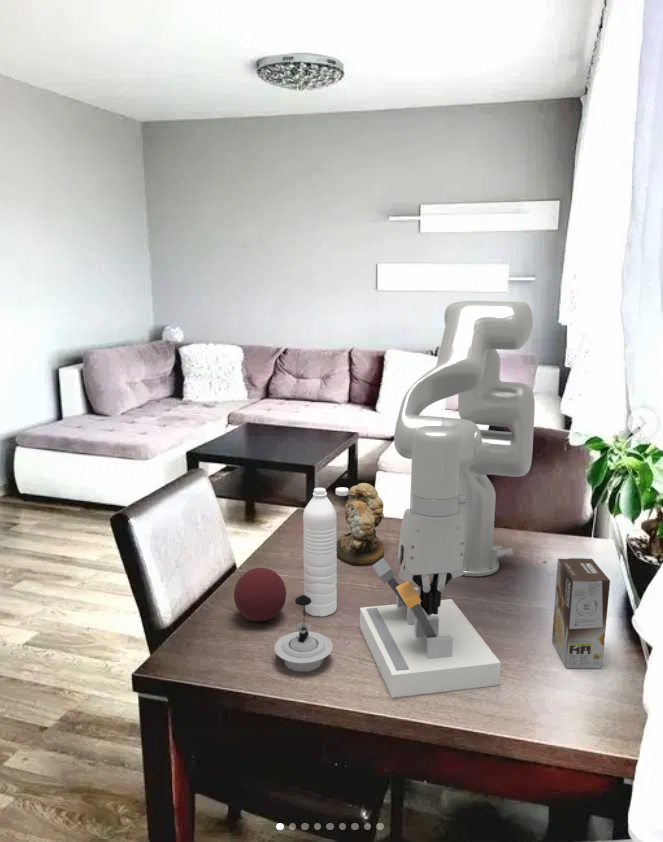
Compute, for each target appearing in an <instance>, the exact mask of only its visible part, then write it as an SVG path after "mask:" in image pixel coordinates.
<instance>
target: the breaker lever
mask: <svg viewBox="0 0 663 842" xmlns="http://www.w3.org/2000/svg"><path fill="white" fill-rule="evenodd" d="M414 588H415V587H413V585H412V583H411V582H410V581H404V582H402V583H401V584H400V585H399V586H397V587H396V589H397V590H398V592H399V594H400V596H401V597H402V599H403V601H404V602H405V604H406V605H407V607H408V609H410V608H411V610H412V612H413V614H414V616H415V618H416V620H417V621H418V623H419V625H420V627H421V629H422V631H423V633H424V634H425V636H426V637H427V638H431V637H437V636H436V634H435V632H434V631H433V629H432V627H431V625H430V623H429V621H428V619H427V617H426V615H425V614H424V612H423V610H422V608H421V606H420V604H419V603H420V602H422V601H421V599H420V595H419V596H418V594H417V592H416V591H415V589H414Z"/></svg>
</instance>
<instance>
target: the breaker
mask: <svg viewBox="0 0 663 842" xmlns="http://www.w3.org/2000/svg"><path fill="white" fill-rule="evenodd" d="M372 567H373V569H374V570H375V572H376V573H377V575H378V577H379V579H380V580H381V581H382V582H383V584H384V585H385V584H386V583H387V584H388V585H389V587H390V588H391V589H392V591H393V592H394V594H396V597H397V596H398V597H399V599H400V600H401V601H402V603H403V604H404V605H405V606H406V608H407V605H406V604H405V602H404V601H403V599H402V597H401V596H400V594H399V592H398V590H397V589H396V587H397V586H399V585H401V584H400V583H399V581H398V580H397V578H396V574H395V573H394V571H393V569H392V568H391V566H390V564H388V562H387V561H386V559H385V558H384V557H383V558H382V559H381V560H379V561H378V562H376V563H375V564H374V565H372Z"/></svg>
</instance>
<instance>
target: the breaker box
mask: <svg viewBox="0 0 663 842" xmlns="http://www.w3.org/2000/svg"><path fill="white" fill-rule="evenodd" d="M413 588H414V589H415V591H416V592H417V594H418V596H419V597H420V589H419V587H416V586H415V587H413ZM419 604H420V603H419ZM421 608H422V607H421ZM422 610H423V612H424V614H425V615H426V617H427V619H428V621H429V623H430V625H431V627H432V629H433V631H434V632H435V634H436V636H437V637H431V638H427V637H426V636H425V634H424V633H423V631H422V629H421V627H420V625H419V623H418V621H417V620H416V618H415V616H414V614H413V612H412V610H411V608H410V609H408V607H407V608H406V606H405V605H404V604H403V603H402V601H401V600H400V599H399V597H398V596H397V595H396V603H395V604H386V605H376V606H375V605H374V606H364V607H360V608H359V629H360V631H361V633H362V636H363V637H364V640H365V641H366V644H367V646H368V648H369V651H370V652H371V655H372V657H373V660H374V662H375V663H376V666H377V669H378V670H379V673H380V675H381V678H382V680H383V682H384V684H385V686H386V689H387V688H388V689H387V692H388V693H389V695H390V697H391V699H394V698H403V697H412V696H419V695H420V694H421V695H429V694H435V693H436V694H437V693H438V694H439V693H445V692H452V691H453V692H454V691H461V690H469V689H477V688H479V689H480V688H486V687H494V686H500V681H501V679H500V678H501V664H502V663H501V661H500V660H499V658H498V657H497V656H496V655H495V653H494V652H493V651H492V650H491V648H490V647H489V645H488V644H487V643H486V642H485V641H484V639H483V638H482V637H481V635H480V634H479V633H478V631H477V630H476V629H475V628H474V626H473V625H472V624H471V622H470V621H469V619H468V618H467V617H466V616H465V614H464V613H462V611H461V609H460V608H459V606H458V605H457V604H456V603H455V601H454V600H453V599H452V598H450V599H448V598H447V599H441V604H440V607H438V614H436V615H434V614H432V615H428V614H427V613H426V612H425V610H424V609H423V608H422ZM421 695H420V696H421Z"/></svg>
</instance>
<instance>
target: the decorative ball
mask: <svg viewBox="0 0 663 842" xmlns="http://www.w3.org/2000/svg"><path fill="white" fill-rule="evenodd" d="M233 598H234V599H233V601H234V604H235V607H236V609H237V610H238V611H239V613H240V614H241V615H242V616H243V617H245V618H246V619H248V620H250V621H252V622H266V621H269V620H271V619H272V618H275V617H276V616H277V615H278V614H280V612H281V611H282V609H283V607H284V606H285V603H286V600H287V587H286V585H285V583H284V581H283V579H282V577H281V576H280V575H279V574H278V573H277V572H275V571H274V570H272V569H270V568H265V567H255V568H252V569H249V570H247V571H246V572H244V573H243V574H242V575H240V577H239V579H238V580H237V582H236V584H235V586H234V590H233Z"/></svg>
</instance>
